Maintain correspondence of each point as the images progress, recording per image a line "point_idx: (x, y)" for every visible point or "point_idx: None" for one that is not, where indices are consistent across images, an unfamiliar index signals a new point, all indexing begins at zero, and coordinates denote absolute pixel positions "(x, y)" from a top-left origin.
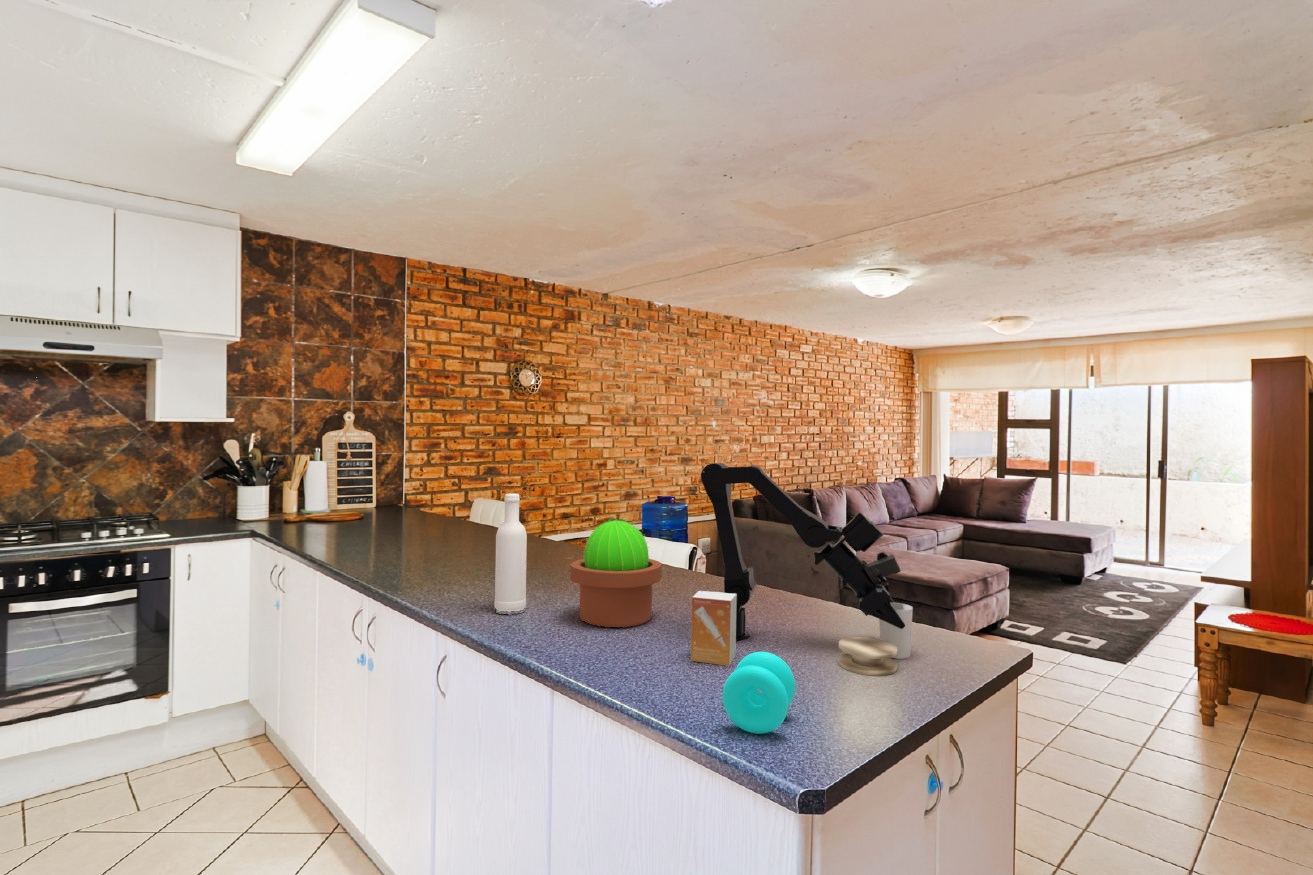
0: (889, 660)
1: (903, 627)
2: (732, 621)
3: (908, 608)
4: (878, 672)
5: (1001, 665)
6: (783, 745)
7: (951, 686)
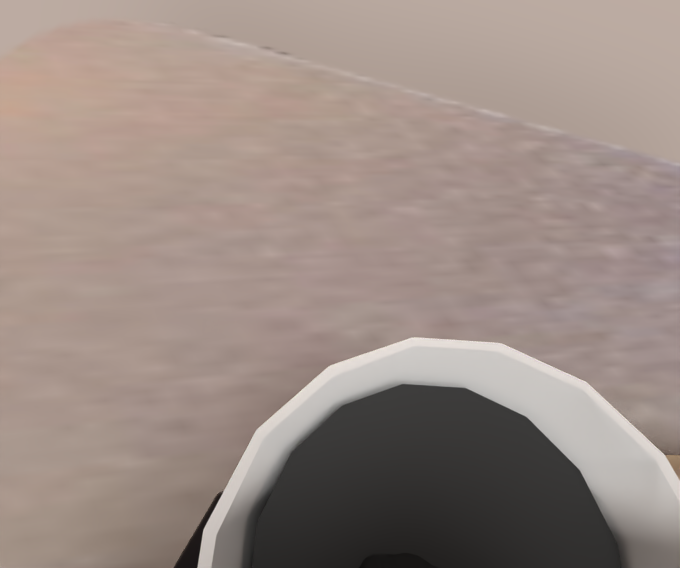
0: None
1: None
2: None
3: (305, 412)
4: None
5: (292, 77)
6: None
7: (671, 219)
